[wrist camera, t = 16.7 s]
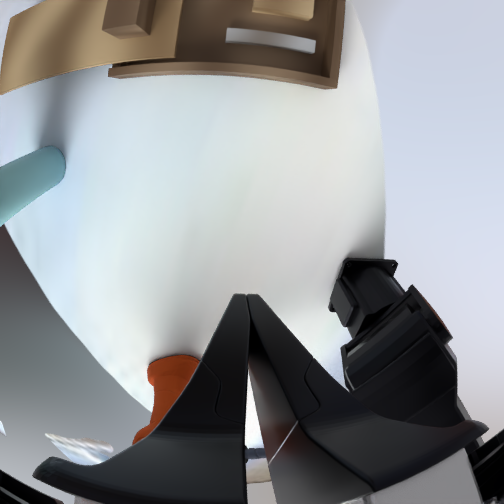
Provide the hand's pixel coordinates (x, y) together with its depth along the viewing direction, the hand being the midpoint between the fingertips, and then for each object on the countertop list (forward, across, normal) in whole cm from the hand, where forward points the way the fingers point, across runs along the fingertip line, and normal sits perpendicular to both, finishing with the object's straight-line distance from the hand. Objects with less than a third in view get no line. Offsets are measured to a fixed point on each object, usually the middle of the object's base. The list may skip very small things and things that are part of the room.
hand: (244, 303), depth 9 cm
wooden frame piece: (+13, +2, -13) cm, 18 cm away
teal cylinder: (+13, +16, -2) cm, 21 cm away
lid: (+10, +12, -13) cm, 21 cm away
